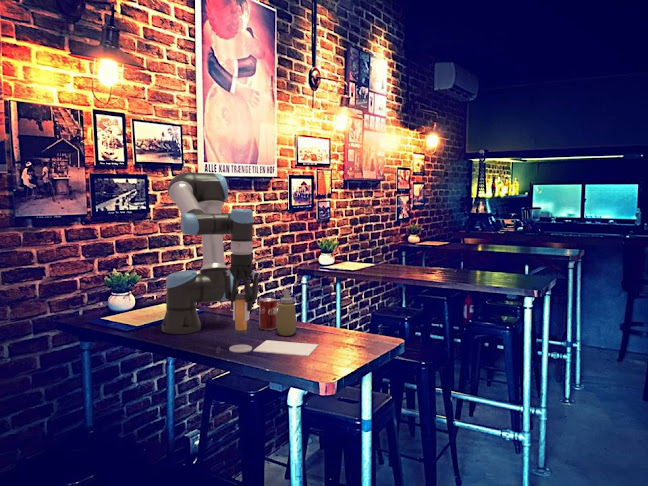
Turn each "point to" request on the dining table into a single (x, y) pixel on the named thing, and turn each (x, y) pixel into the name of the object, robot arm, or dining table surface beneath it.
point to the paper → (286, 348)
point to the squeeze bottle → (286, 316)
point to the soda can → (267, 313)
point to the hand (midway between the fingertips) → (241, 319)
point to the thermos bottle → (240, 314)
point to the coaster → (240, 348)
